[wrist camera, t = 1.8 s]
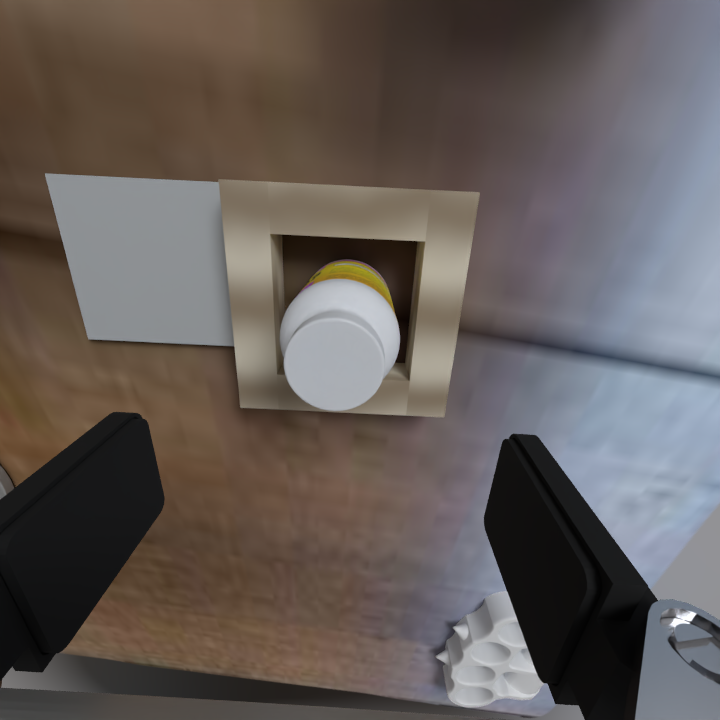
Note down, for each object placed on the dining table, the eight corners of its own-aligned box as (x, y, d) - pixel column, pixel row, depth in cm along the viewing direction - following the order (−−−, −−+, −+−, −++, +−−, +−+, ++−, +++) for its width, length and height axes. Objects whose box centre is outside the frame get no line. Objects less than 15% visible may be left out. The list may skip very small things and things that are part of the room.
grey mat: (238, 343, 29) (235, 346, 29) (93, 336, 29) (88, 339, 29) (223, 182, 25) (220, 182, 24) (52, 174, 25) (44, 173, 24)
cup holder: (435, 396, 31) (444, 417, 28) (253, 387, 31) (240, 407, 28) (465, 195, 25) (479, 192, 22) (237, 183, 25) (218, 179, 22)
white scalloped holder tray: (518, 686, 48) (416, 667, 47) (584, 603, 42) (468, 579, 40) (529, 718, 45) (420, 699, 44) (601, 634, 39) (476, 609, 37)
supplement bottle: (321, 244, 26) (284, 270, 14) (403, 276, 27) (432, 325, 15) (295, 325, 29) (246, 404, 17) (371, 352, 30) (375, 445, 18)
